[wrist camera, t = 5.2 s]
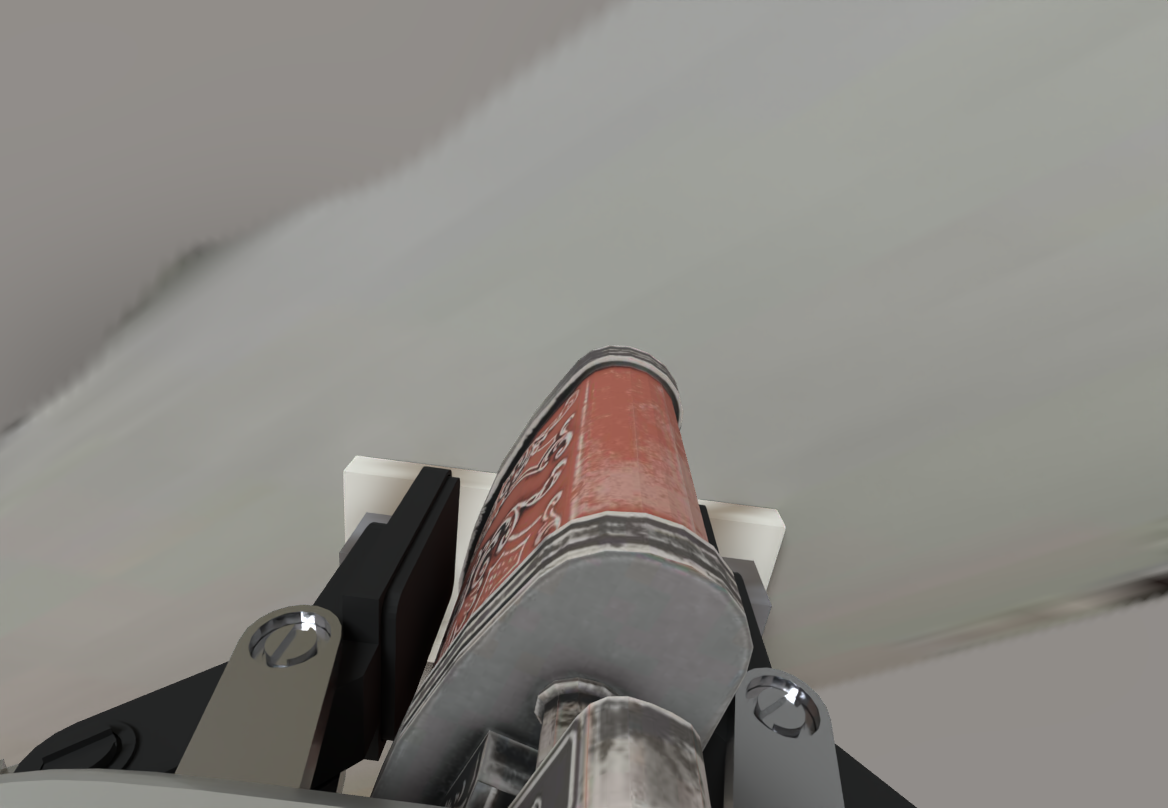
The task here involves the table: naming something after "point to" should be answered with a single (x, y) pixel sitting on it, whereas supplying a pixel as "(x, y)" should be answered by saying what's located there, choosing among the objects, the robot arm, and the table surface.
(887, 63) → the table surface
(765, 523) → the white base plate
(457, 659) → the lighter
